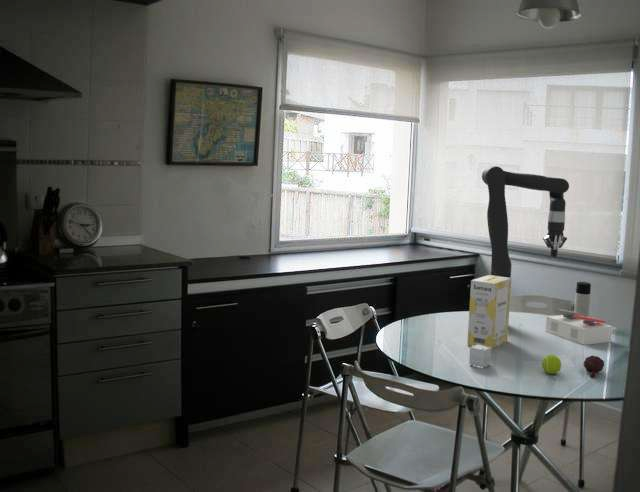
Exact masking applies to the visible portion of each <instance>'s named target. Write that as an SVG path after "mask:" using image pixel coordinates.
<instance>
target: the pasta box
mask: <svg viewBox="0 0 640 492" xmlns="http://www.w3.org/2000/svg"><path fill="white" fill-rule="evenodd" d="M511 288H512V277H511V278H508V277H501V276H493V275H491V274H487V275H485V276H484V275H483V276H481V277H477V278H474V279H471V280H470V292H469V293H470V294H469V296H470V297H469V309H468V310H469V311H468V312H469V313H468V329H467V342H466V343H467V344H468V345H467V344H466V345H467V346H469V345H473V346H475V345H477V344H478V345H482V346H487V347H491V350H493V349H494V348H497V347H498V346H500V345H502V344H504V343H506V342H508V336H509V334H508V333H509V323H510V322H509V320H510V319H509V318H510V306H511V305H510V304H511ZM473 346H472V347H473Z"/></svg>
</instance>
